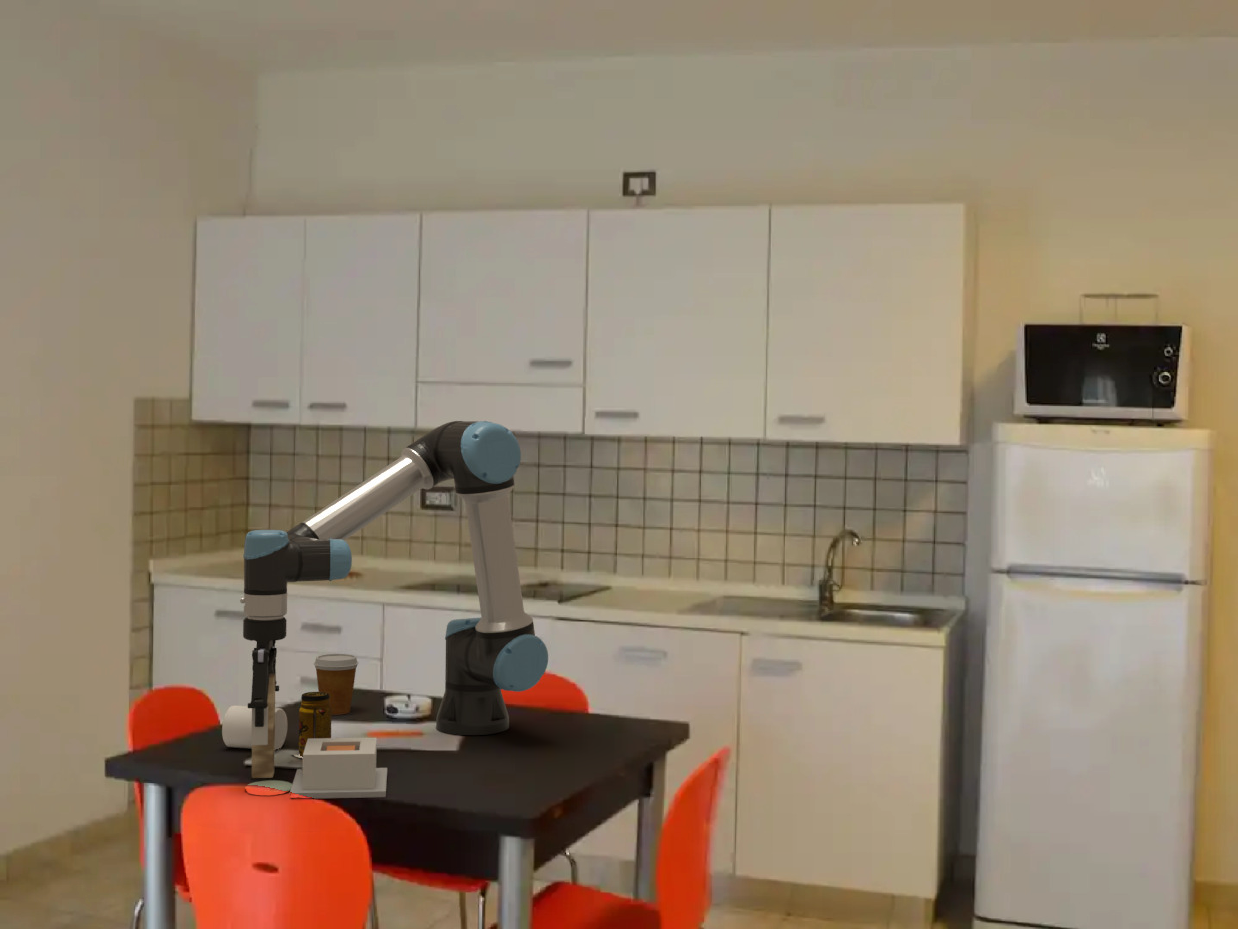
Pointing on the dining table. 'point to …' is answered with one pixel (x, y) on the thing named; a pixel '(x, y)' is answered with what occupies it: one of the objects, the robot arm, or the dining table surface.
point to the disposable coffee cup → (337, 680)
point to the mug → (249, 727)
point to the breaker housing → (340, 770)
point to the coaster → (274, 784)
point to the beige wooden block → (265, 753)
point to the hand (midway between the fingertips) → (263, 736)
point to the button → (340, 748)
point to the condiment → (314, 718)
